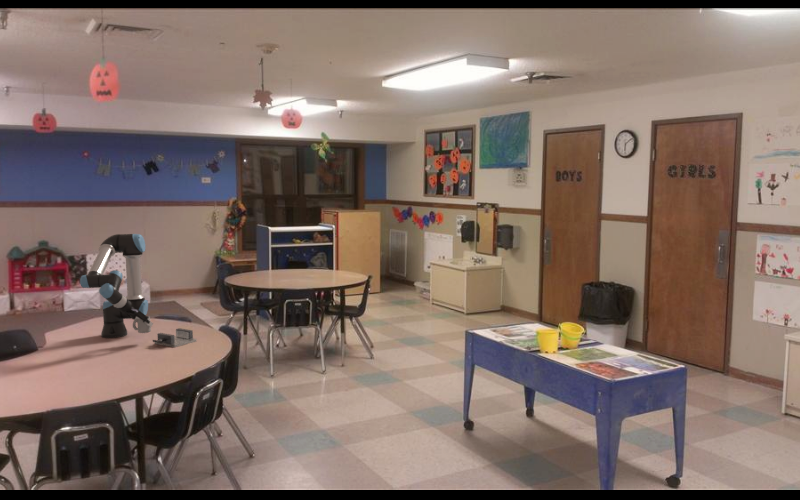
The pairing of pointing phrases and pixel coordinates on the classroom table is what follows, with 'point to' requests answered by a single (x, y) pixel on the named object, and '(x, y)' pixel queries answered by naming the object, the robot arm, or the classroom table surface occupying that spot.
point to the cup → (141, 326)
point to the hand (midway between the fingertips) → (147, 324)
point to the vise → (175, 338)
